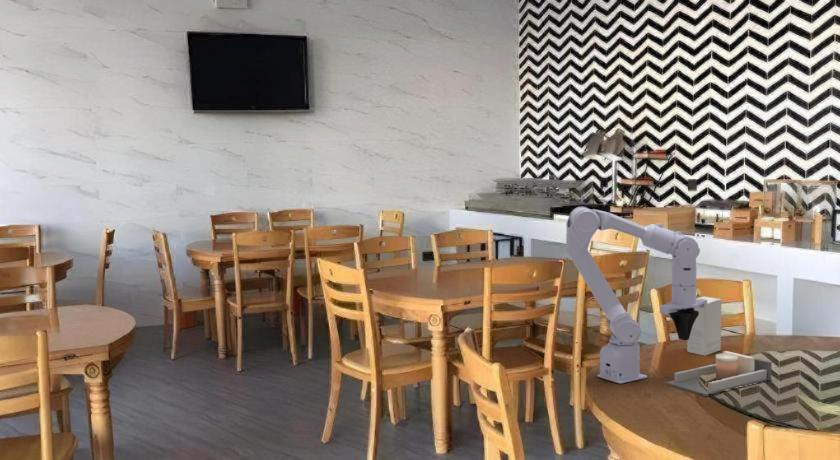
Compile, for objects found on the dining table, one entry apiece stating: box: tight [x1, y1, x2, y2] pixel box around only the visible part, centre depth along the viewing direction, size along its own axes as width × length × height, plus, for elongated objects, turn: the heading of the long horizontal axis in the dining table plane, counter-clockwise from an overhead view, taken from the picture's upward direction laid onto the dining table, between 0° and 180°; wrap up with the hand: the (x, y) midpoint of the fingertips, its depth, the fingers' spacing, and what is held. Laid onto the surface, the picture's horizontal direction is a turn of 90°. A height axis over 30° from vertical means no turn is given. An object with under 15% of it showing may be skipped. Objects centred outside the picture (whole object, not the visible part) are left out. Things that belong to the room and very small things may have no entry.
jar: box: [715, 352, 738, 379], centre depth 193 cm, size 5×5×6 cm
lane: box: [664, 357, 772, 397], centre depth 191 cm, size 24×12×4 cm, turn 120°
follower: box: [722, 350, 756, 375], centre depth 195 cm, size 2×8×5 cm, turn 30°
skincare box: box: [686, 296, 722, 356], centre depth 220 cm, size 8×6×15 cm
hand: (683, 339), depth 196 cm, fingers closed
